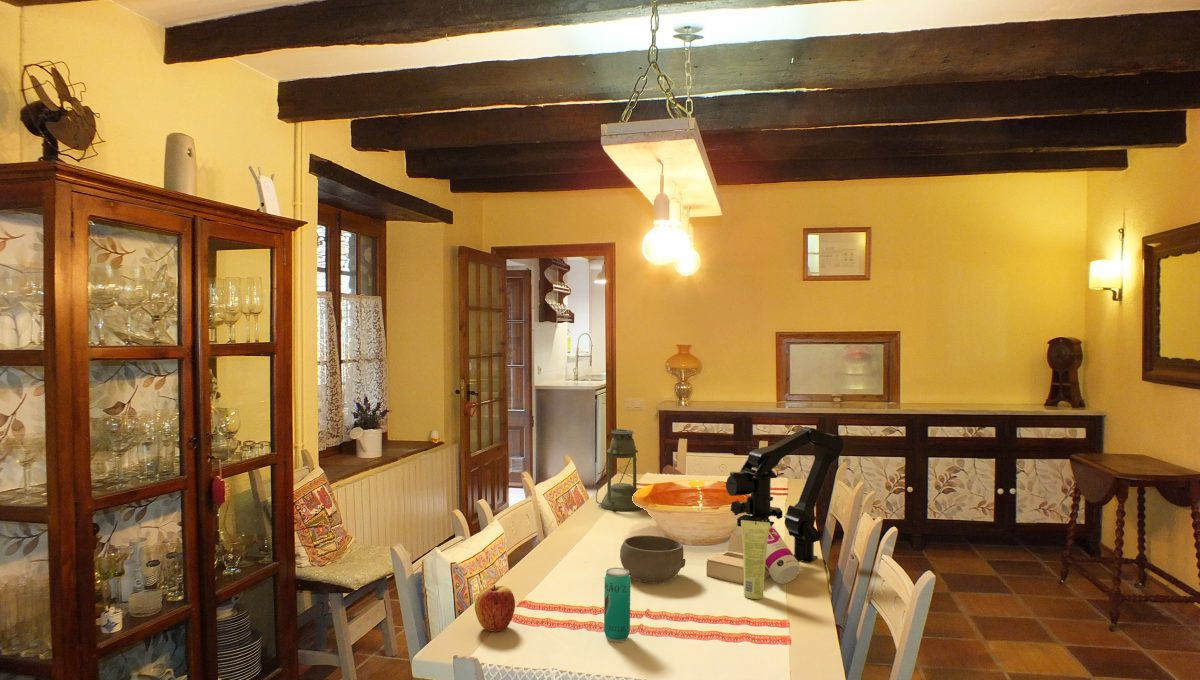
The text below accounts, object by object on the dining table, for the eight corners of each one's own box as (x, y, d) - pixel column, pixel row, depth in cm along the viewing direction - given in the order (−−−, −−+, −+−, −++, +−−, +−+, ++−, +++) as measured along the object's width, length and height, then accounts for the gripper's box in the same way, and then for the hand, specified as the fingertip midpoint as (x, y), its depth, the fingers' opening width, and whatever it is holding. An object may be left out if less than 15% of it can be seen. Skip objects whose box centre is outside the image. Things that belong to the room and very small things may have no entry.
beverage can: (602, 633, 172) (603, 567, 172) (628, 633, 172) (628, 566, 172) (605, 644, 166) (605, 575, 166) (631, 643, 167) (632, 575, 166)
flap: (727, 550, 223) (728, 550, 223) (771, 559, 215) (771, 559, 215) (731, 533, 225) (731, 533, 225) (774, 541, 216) (774, 541, 217)
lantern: (626, 514, 284) (627, 434, 284) (587, 508, 294) (588, 430, 294) (653, 504, 301) (654, 428, 301) (616, 498, 311) (616, 425, 311)
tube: (757, 591, 201) (758, 517, 201) (769, 598, 196) (770, 522, 196) (739, 594, 198) (740, 520, 198) (751, 601, 194) (752, 524, 194)
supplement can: (803, 560, 203) (774, 519, 214) (776, 570, 201) (748, 527, 212) (799, 579, 208) (771, 537, 219) (773, 588, 206) (746, 546, 217)
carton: (726, 565, 223) (726, 549, 223) (771, 575, 215) (771, 558, 215) (706, 575, 214) (706, 559, 213) (752, 586, 205) (752, 569, 205)
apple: (480, 639, 168) (480, 594, 168) (470, 624, 176) (470, 581, 176) (519, 633, 172) (520, 589, 172) (508, 619, 180) (508, 577, 180)
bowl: (691, 573, 216) (692, 538, 216) (670, 592, 200) (670, 554, 200) (635, 564, 223) (635, 530, 223) (610, 582, 207) (610, 546, 207)
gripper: (749, 485, 237) (749, 535, 237) (720, 494, 222) (720, 548, 222) (783, 489, 230) (782, 541, 230) (756, 500, 215) (755, 555, 215)
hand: (759, 546), depth 225 cm, fingers closed
